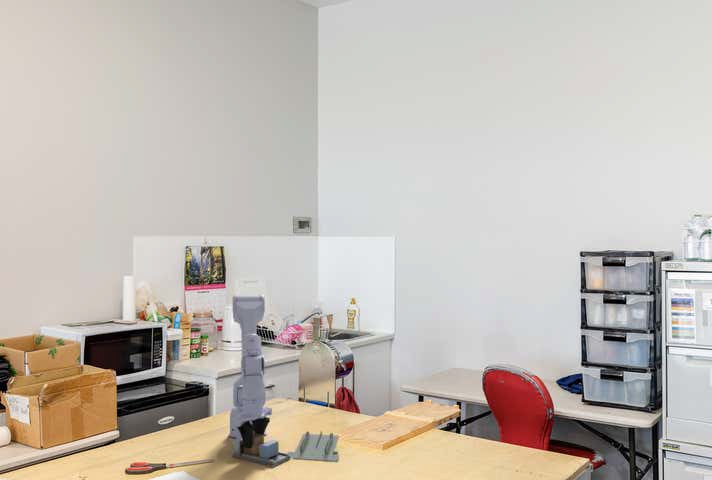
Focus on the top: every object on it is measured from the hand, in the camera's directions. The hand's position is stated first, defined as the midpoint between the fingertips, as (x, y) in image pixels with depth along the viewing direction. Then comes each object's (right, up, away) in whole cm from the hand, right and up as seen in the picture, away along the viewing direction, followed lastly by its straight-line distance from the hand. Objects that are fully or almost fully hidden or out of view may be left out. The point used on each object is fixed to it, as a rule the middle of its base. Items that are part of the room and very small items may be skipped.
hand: (253, 445), depth 192 cm
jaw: (+5, -2, -3) cm, 6 cm away
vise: (+2, -3, -1) cm, 4 cm away
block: (0, -2, 0) cm, 2 cm away
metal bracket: (+18, -4, +3) cm, 18 cm away
